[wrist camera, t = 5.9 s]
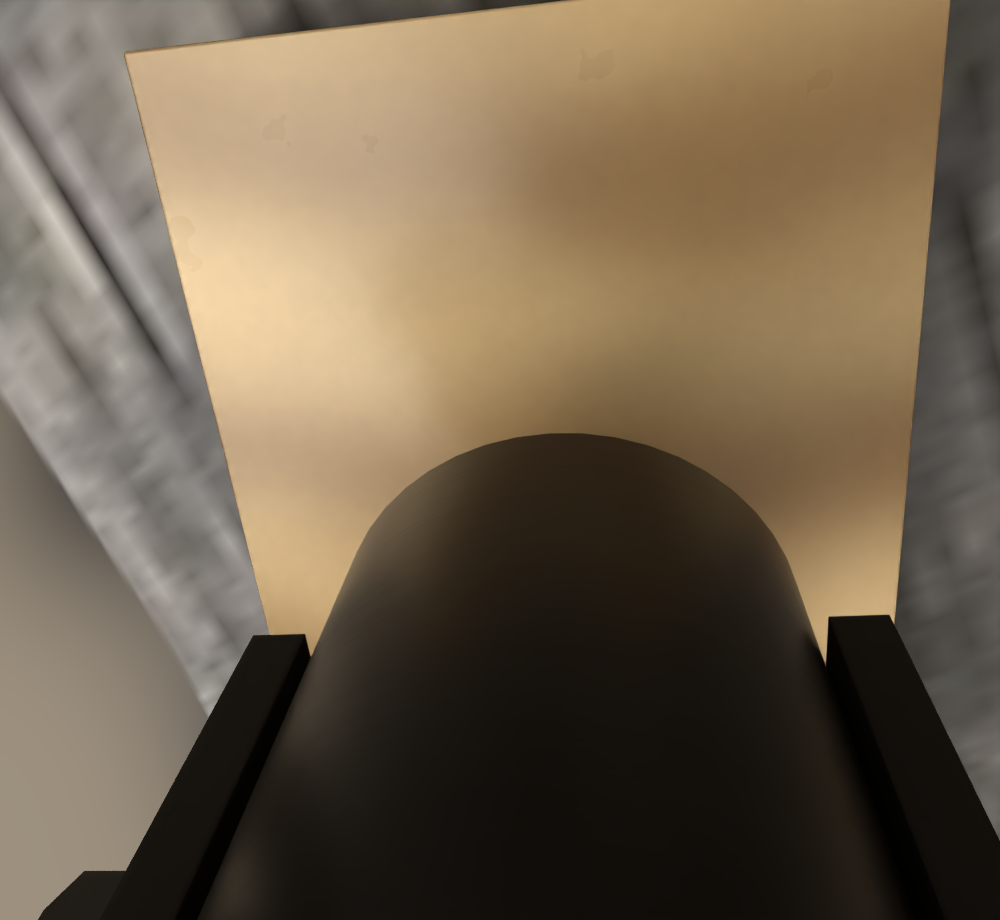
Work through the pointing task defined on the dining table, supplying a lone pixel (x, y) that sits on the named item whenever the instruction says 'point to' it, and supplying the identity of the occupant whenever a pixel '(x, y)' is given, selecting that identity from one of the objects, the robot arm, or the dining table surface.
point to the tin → (563, 714)
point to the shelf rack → (560, 260)
